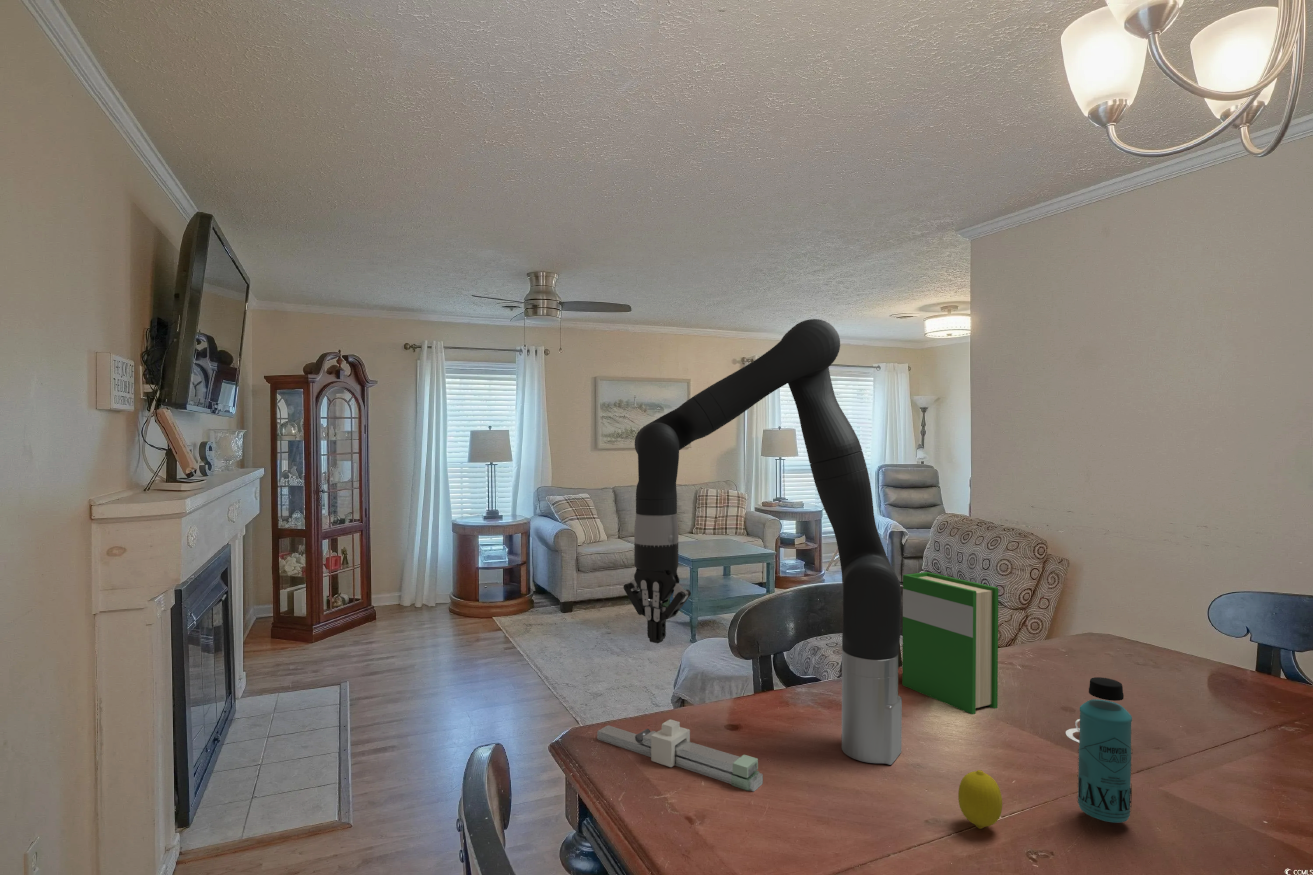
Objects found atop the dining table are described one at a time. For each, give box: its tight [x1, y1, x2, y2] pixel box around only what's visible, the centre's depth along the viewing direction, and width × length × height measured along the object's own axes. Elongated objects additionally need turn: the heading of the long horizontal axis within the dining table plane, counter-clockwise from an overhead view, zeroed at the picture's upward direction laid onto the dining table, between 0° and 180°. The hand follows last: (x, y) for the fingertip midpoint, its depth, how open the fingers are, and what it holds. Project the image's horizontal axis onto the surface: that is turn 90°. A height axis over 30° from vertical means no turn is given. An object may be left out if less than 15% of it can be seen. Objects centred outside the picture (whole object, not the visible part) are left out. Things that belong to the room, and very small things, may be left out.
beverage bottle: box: [1076, 676, 1133, 824], centre depth 98 cm, size 6×7×20 cm
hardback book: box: [901, 571, 999, 715], centre depth 145 cm, size 18×7×24 cm, turn 27°
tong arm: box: [643, 730, 759, 778], centre depth 114 cm, size 20×4×2 cm, turn 55°
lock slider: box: [650, 718, 691, 768], centre depth 117 cm, size 4×6×6 cm
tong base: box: [596, 724, 764, 792], centre depth 116 cm, size 31×4×3 cm, turn 55°
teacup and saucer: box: [1065, 718, 1080, 744], centre depth 125 cm, size 9×8×4 cm
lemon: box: [957, 769, 1003, 830], centre depth 97 cm, size 6×6×8 cm
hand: (656, 641), depth 119 cm, fingers closed
